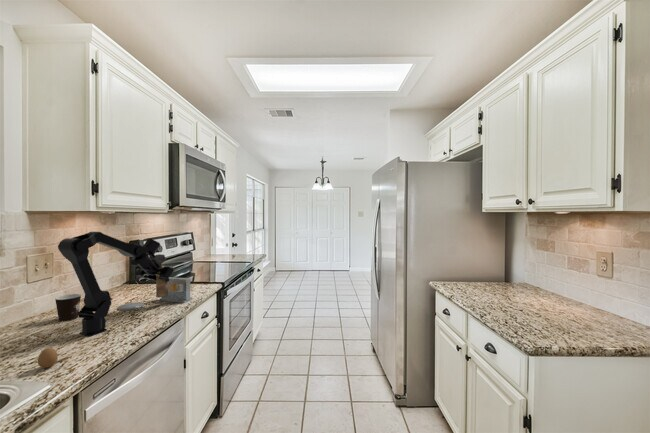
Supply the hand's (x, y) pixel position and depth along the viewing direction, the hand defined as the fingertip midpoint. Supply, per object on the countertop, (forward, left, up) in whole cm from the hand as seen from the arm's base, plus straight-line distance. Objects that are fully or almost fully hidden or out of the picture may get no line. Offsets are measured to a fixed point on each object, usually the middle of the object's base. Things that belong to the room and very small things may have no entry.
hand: (164, 280), depth 147 cm
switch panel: (+8, +1, -12) cm, 15 cm away
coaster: (-9, +12, -12) cm, 20 cm away
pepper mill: (-1, 0, -8) cm, 8 cm away
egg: (-56, -21, -13) cm, 61 cm away
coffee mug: (-29, +22, -13) cm, 39 cm away
